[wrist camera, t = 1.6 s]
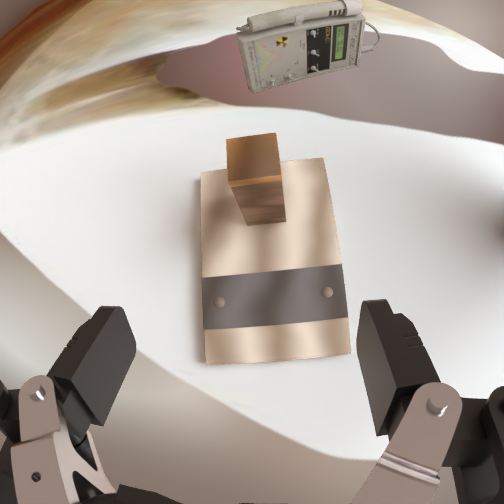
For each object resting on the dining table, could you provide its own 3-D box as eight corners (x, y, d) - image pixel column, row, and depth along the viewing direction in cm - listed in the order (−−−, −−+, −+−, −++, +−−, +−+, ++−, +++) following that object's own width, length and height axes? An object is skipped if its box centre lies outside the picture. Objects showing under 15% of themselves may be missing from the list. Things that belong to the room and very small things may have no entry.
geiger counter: (238, 28, 31) (399, 4, 30) (225, 10, 33) (375, -13, 32) (253, 98, 44) (386, 65, 44) (241, 75, 46) (367, 45, 45)
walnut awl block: (282, 186, 38) (275, 132, 27) (286, 222, 36) (281, 175, 26) (244, 191, 38) (226, 139, 28) (247, 226, 37) (227, 181, 26)
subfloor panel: (322, 163, 40) (323, 157, 38) (349, 352, 33) (351, 353, 31) (203, 178, 41) (200, 172, 40) (209, 363, 35) (205, 364, 33)
